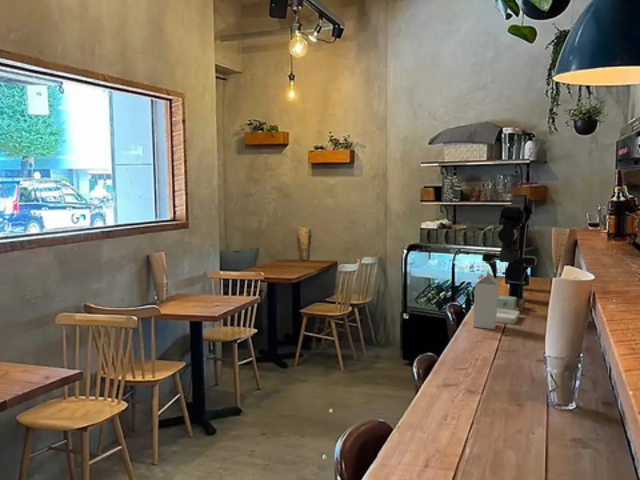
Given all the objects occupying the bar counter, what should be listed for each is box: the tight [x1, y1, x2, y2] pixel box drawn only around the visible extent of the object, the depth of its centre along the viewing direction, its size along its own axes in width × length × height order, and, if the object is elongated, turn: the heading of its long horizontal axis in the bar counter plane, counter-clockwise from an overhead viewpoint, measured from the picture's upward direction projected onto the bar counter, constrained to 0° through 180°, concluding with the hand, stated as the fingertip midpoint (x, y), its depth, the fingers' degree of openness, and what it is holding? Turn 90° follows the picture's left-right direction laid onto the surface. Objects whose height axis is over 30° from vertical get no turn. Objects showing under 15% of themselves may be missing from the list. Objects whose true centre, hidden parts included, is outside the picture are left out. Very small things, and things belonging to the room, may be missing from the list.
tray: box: [496, 308, 521, 325], centre depth 217 cm, size 12×12×2 cm
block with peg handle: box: [497, 295, 517, 311], centre depth 227 cm, size 8×6×5 cm
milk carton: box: [472, 268, 499, 330], centre depth 205 cm, size 7×7×19 cm
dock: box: [498, 295, 526, 312], centre depth 233 cm, size 7×10×3 cm, turn 63°
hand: (507, 281), depth 227 cm, fingers open, 9 cm apart
